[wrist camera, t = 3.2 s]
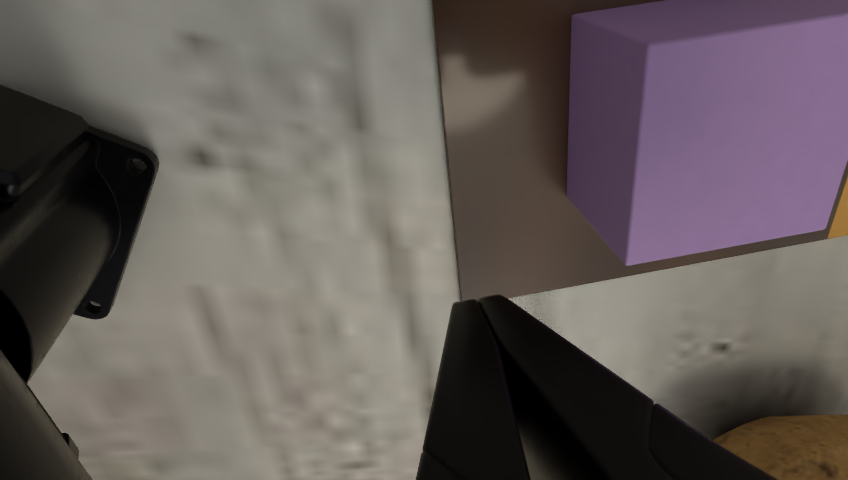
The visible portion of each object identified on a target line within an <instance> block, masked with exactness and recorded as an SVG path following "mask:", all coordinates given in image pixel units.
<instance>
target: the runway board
mask: <svg viewBox="0 0 848 480" xmlns="http://www.w3.org/2000/svg"><path fill="white" fill-rule="evenodd" d="M658 1H664V0H432V10H433V20H434V31H435V41H436V51H437V61H438V71H439V81H440V92H441V102H442V112H443V122H444V132H445V142H446V152H447V163H448V173H449V183H450V193H451V203H452V213H453V224H454V234H455V244H456V254H457V264H458V274H459V285H460V295H461V301H464V300H469V299H475V300H477V301H478V299H479V298H481V297H485V296H491V295H496V294H500V295H503V296H504V297H506V298H512V297H518V296H523V295H528V294H534V293H539V292H544V291H550V290H555V289H561V288H566V287H571V286H577V285H582V284H587V283H593V282H598V281H604V280H609V279H614V278H620V277H625V276H630V275H636V274H641V273H647V272H652V271H657V270H663V269H668V268H673V267H679V266H684V265H690V264H695V263H700V262H706V261H711V260H716V259H722V258H727V257H733V256H738V255H743V254H749V253H754V252H759V251H765V250H770V249H776V248H781V247H786V246H792V245H797V244H802V243H808V242H813V241H819V240H824V239H827V237H828V234H829V231H830V228H831V225H832V222H833V219H834V216H835V213H836V210H837V207H838V204H839V201H840V198H841V195H842V192H843V188H844V185H845V182H846V179H847V176H848V161H847V164H846V167H845V170H844V173H843V176H842V179H841V182H840V186H839V189H838V192H837V195H836V198H835V201H834V204H833V207H832V210H831V213H830V217H829V220H828V223H827V226H826V228H825V229H824V230H819V231H813V232H808V233H803V234H797V235H792V236H786V237H781V238H776V239H770V240H765V241H759V242H754V243H749V244H743V245H738V246H732V247H727V248H721V249H716V250H711V251H705V252H700V253H694V254H689V255H684V256H678V257H673V258H667V259H662V260H656V261H651V262H646V263H640V264H635V265H629V266H627V265H625V264H624V263H623V262H622V261H621V259H620V258H619V257H618V256H617V255H616V254H615V252H614V251H613V250H612V249H611V248H610V247H609V245H608V244H607V243H606V242H605V241H604V240H603V238H602V237H601V236H600V235H599V234H598V233H597V231H596V230H595V229H594V228H593V227H592V226H591V224H590V223H589V222H588V221H587V220H586V219H585V217H584V216H583V215H582V214H581V213H580V212H579V210H578V209H577V208H576V207H575V206H574V205H573V203H572V202H571V201H570V200H569V199H568V198H567V162H568V126H569V90H570V55H571V19H572V15H574V14H578V13H585V12H591V11H598V10H604V9H611V8H618V7H624V6H631V5H638V4H644V3H651V2H658Z"/></svg>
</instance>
